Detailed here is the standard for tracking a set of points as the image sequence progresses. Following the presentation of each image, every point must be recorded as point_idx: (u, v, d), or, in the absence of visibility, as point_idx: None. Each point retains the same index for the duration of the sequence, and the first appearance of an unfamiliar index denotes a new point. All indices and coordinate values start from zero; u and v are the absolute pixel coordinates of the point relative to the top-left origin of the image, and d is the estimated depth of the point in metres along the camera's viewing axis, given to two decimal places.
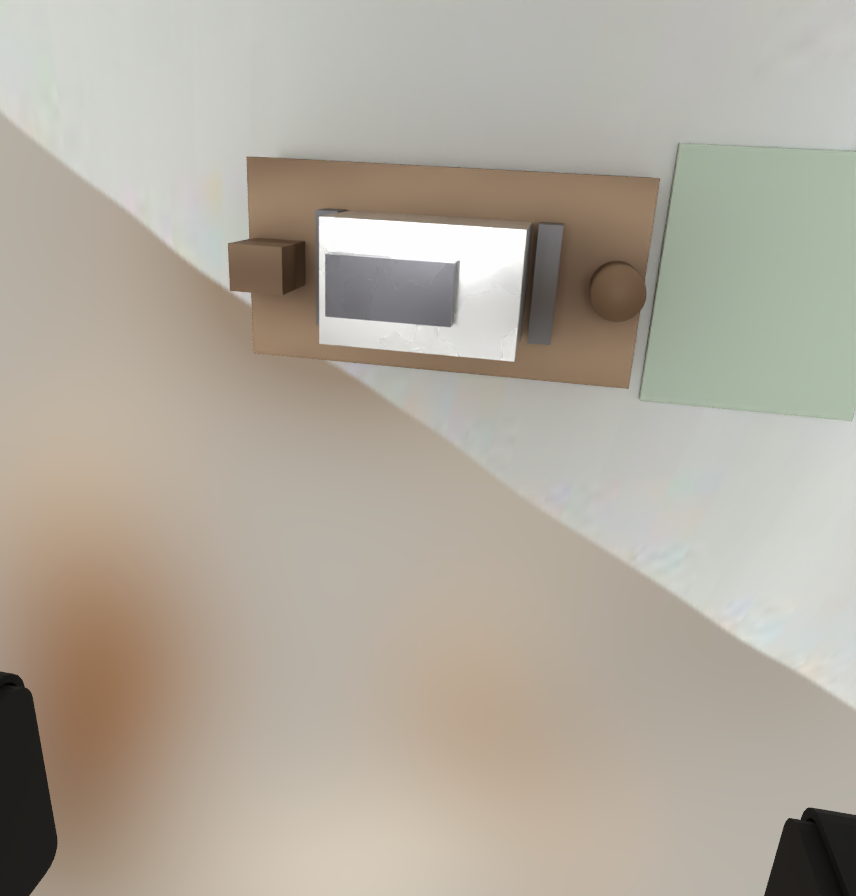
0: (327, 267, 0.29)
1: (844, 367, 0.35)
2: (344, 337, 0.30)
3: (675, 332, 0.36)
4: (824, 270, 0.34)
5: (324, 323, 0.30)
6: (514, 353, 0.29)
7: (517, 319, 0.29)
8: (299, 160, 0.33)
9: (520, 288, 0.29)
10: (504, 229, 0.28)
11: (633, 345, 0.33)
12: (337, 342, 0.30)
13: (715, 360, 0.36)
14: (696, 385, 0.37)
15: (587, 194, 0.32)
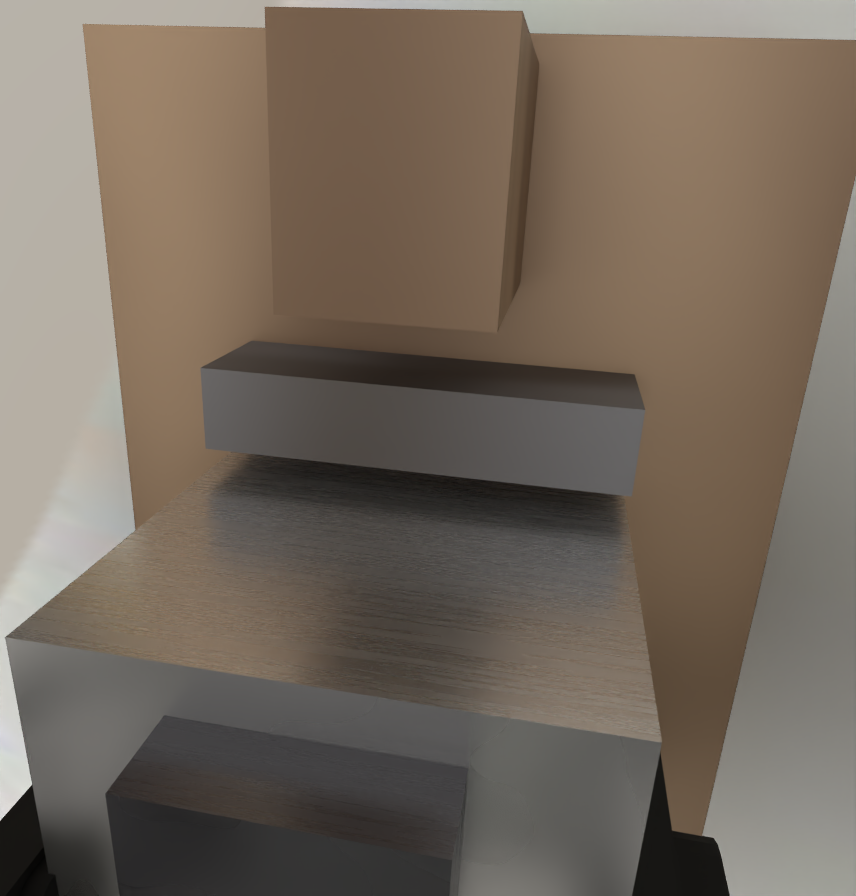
0: (375, 859, 0.05)
1: None
2: (63, 751, 0.06)
3: None
4: None
5: (107, 677, 0.06)
6: None
7: None
8: (825, 285, 0.09)
9: None
10: None
11: None
12: (31, 721, 0.06)
13: None
14: None
15: None
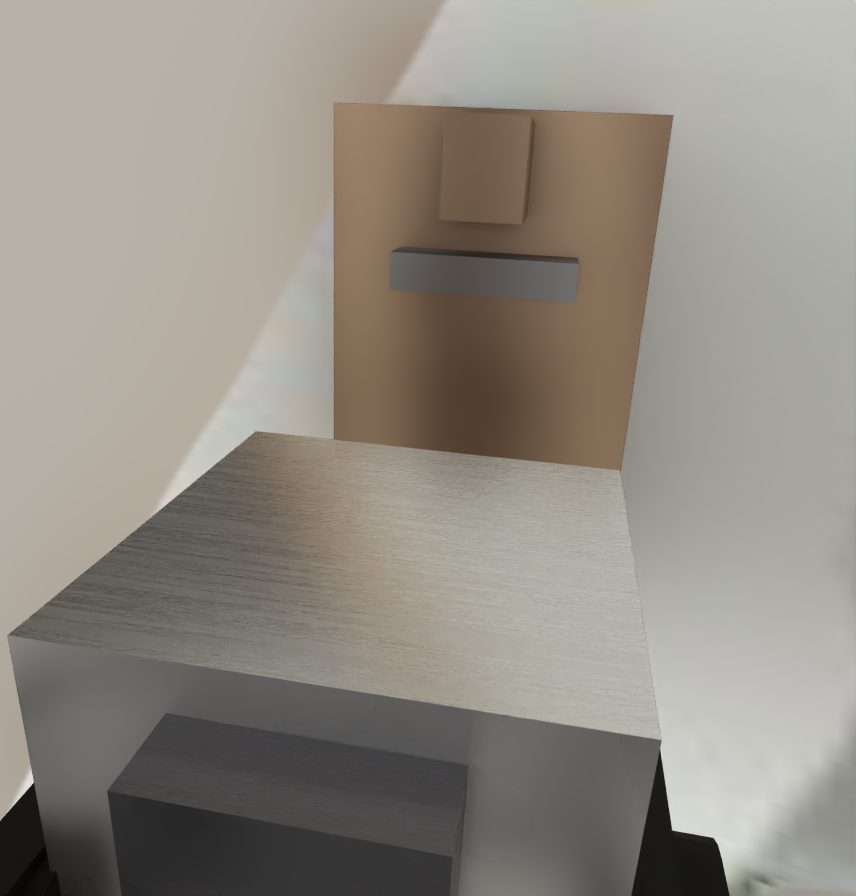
0: (376, 856, 0.05)
1: None
2: (65, 749, 0.06)
3: None
4: None
5: (109, 675, 0.06)
6: None
7: None
8: (656, 215, 0.20)
9: None
10: None
11: None
12: (33, 719, 0.06)
13: None
14: None
15: None
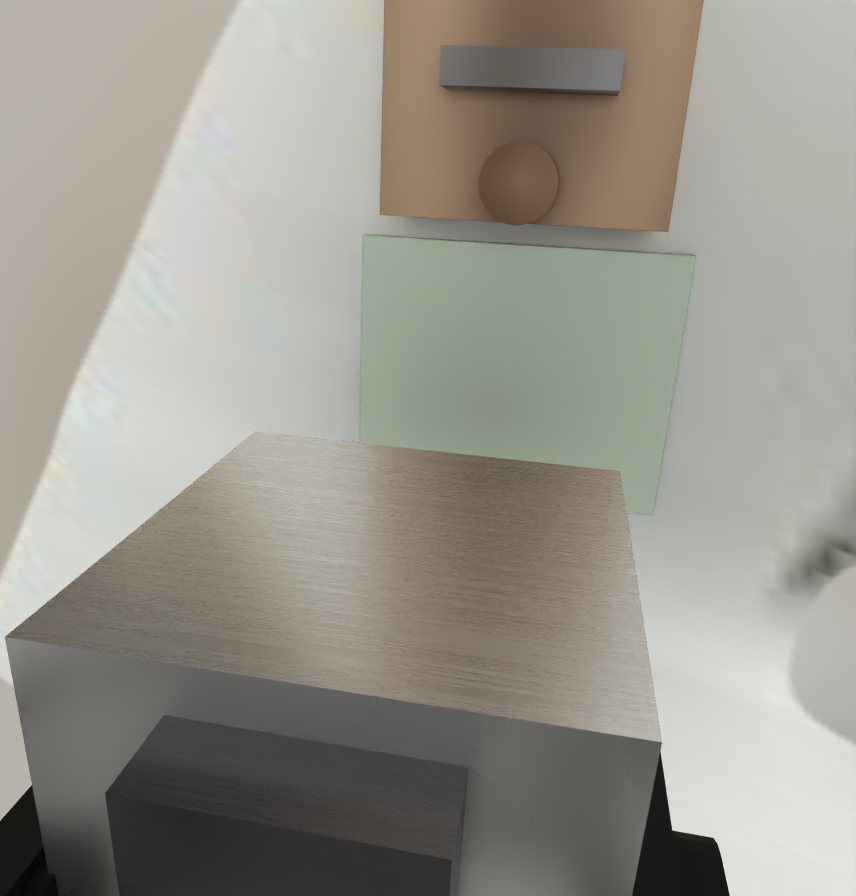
0: (375, 859, 0.05)
1: None
2: (63, 751, 0.06)
3: (455, 273, 0.28)
4: (531, 435, 0.29)
5: (107, 676, 0.06)
6: None
7: None
8: None
9: None
10: None
11: (440, 216, 0.24)
12: (31, 721, 0.06)
13: (421, 326, 0.29)
14: (388, 307, 0.29)
15: (656, 128, 0.22)
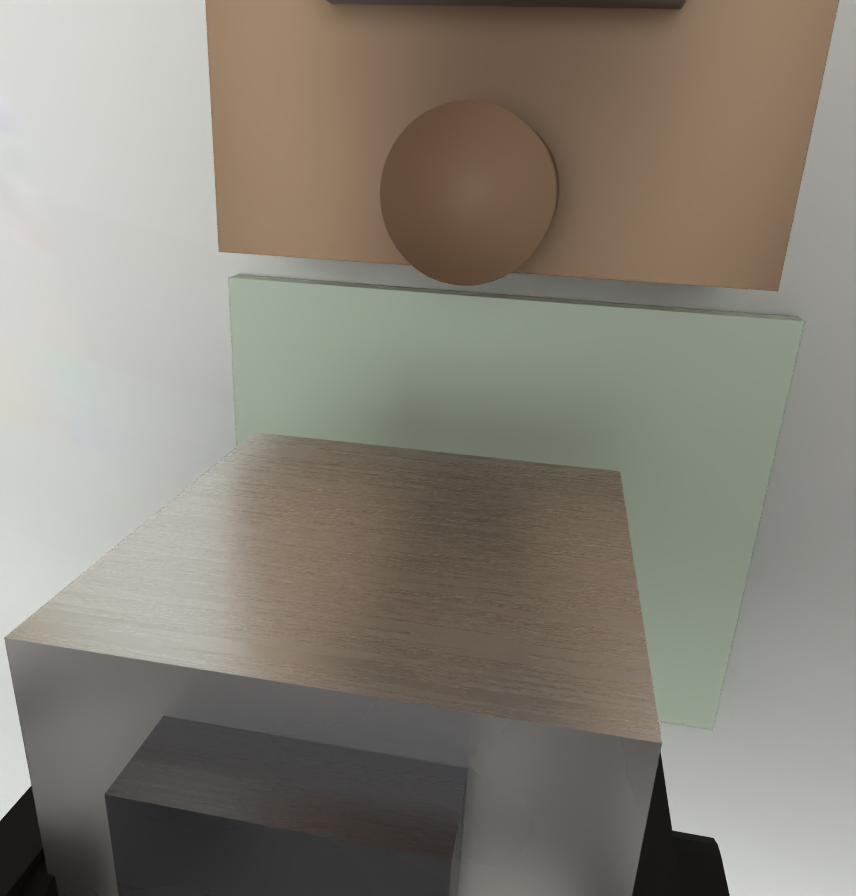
0: (374, 860, 0.05)
1: None
2: (62, 752, 0.06)
3: (383, 343, 0.16)
4: None
5: (107, 677, 0.06)
6: None
7: None
8: None
9: None
10: None
11: (331, 255, 0.12)
12: (31, 722, 0.06)
13: (332, 427, 0.17)
14: (276, 394, 0.17)
15: (763, 78, 0.10)
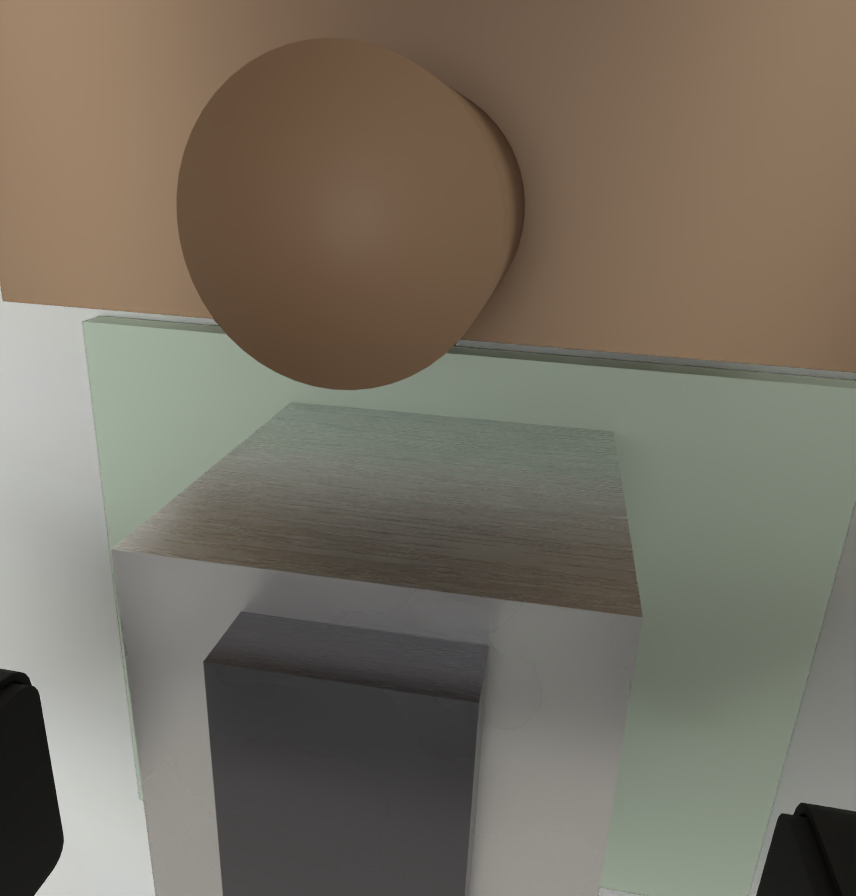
0: (418, 705, 0.06)
1: None
2: (155, 646, 0.08)
3: None
4: None
5: (195, 580, 0.07)
6: None
7: None
8: None
9: None
10: None
11: (171, 309, 0.08)
12: (130, 621, 0.07)
13: None
14: (155, 477, 0.13)
15: None
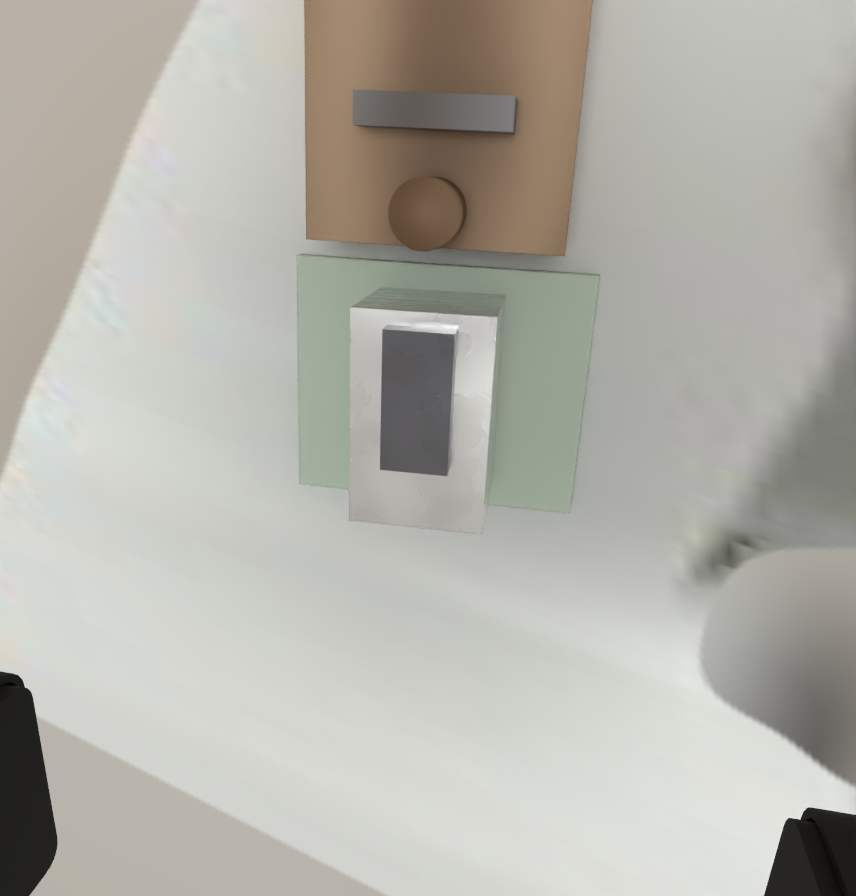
0: (439, 336, 0.24)
1: None
2: (359, 339, 0.26)
3: None
4: None
5: (374, 315, 0.25)
6: (357, 519, 0.28)
7: (392, 523, 0.28)
8: None
9: (424, 526, 0.28)
10: (482, 514, 0.27)
11: (361, 240, 0.26)
12: (353, 330, 0.26)
13: None
14: (322, 321, 0.31)
15: (550, 163, 0.24)
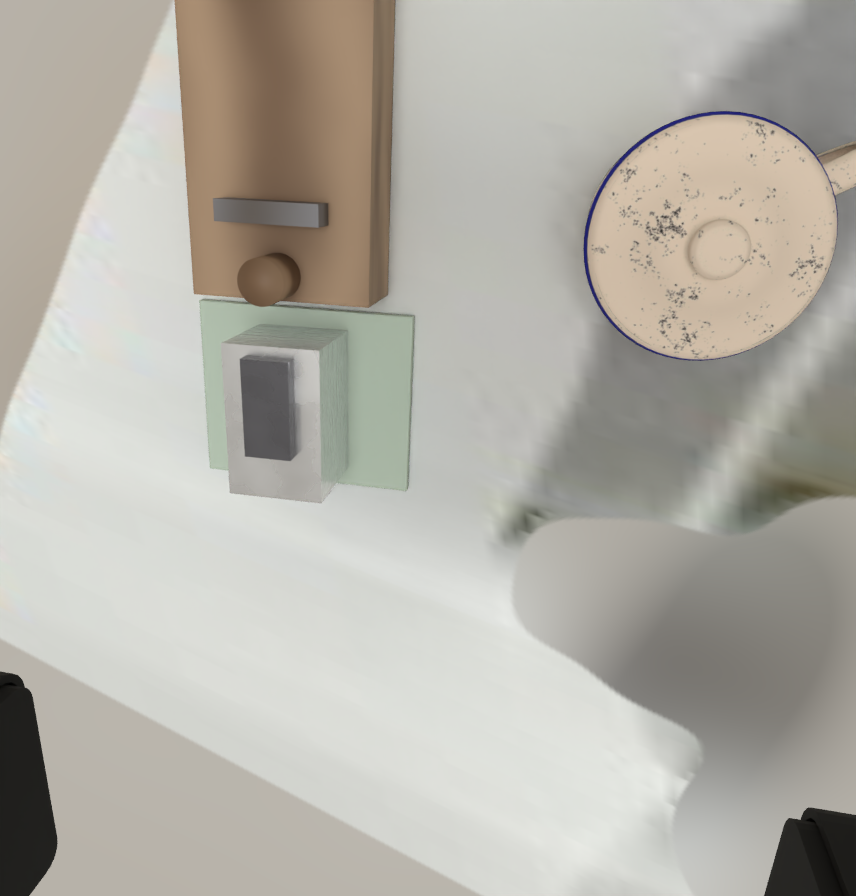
0: (277, 364, 0.35)
1: None
2: (228, 364, 0.37)
3: None
4: None
5: (237, 348, 0.36)
6: (236, 492, 0.39)
7: (260, 495, 0.39)
8: None
9: (281, 497, 0.39)
10: (320, 488, 0.38)
11: (231, 295, 0.37)
12: (223, 358, 0.37)
13: None
14: (219, 348, 0.42)
15: (353, 245, 0.35)
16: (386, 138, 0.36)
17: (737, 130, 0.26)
